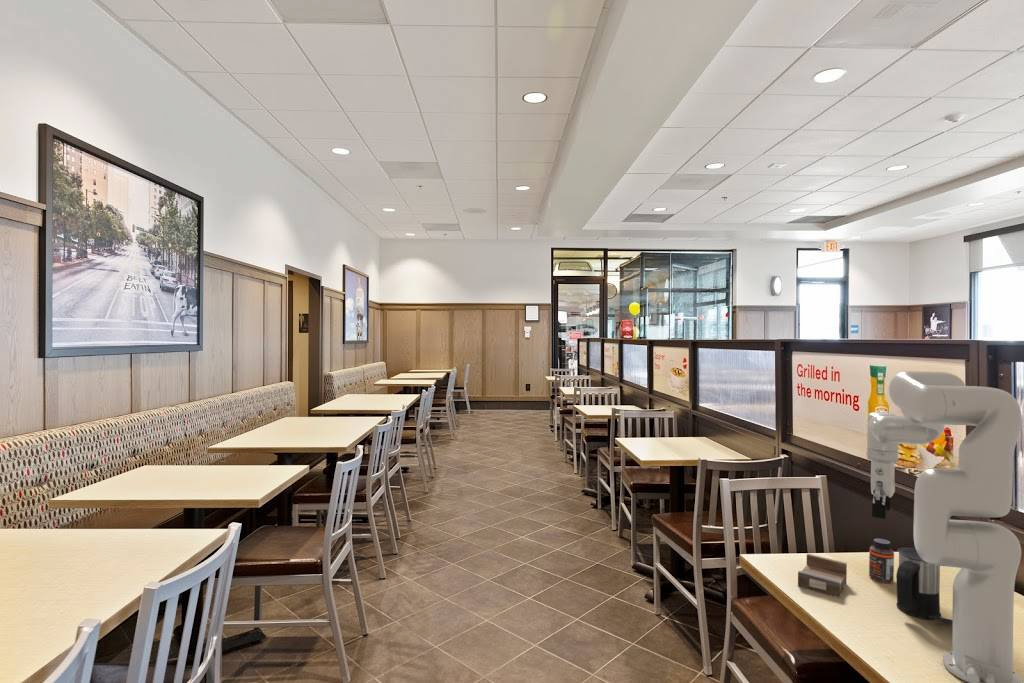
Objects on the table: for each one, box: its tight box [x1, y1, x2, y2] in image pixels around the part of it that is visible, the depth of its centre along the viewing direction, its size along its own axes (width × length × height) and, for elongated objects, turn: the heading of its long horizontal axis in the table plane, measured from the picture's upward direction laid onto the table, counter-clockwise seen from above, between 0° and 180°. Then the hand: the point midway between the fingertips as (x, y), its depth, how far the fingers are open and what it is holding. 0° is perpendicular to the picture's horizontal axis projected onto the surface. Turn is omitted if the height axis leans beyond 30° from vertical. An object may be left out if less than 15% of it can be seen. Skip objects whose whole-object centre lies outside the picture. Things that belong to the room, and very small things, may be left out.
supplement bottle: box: [868, 538, 895, 584], centre depth 156 cm, size 6×6×11 cm
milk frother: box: [895, 546, 952, 625], centre depth 134 cm, size 14×16×15 cm
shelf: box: [797, 553, 848, 598], centre depth 152 cm, size 12×10×6 cm
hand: (881, 513), depth 156 cm, fingers open, 9 cm apart
